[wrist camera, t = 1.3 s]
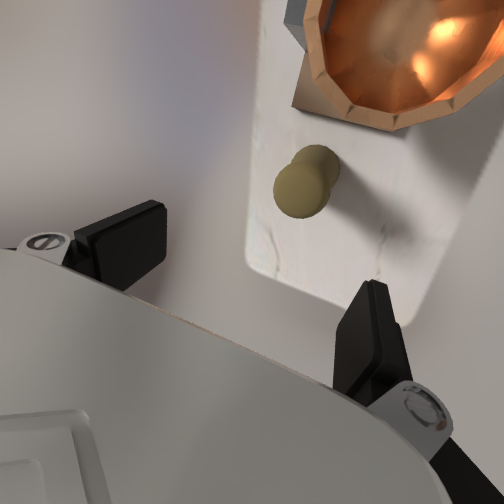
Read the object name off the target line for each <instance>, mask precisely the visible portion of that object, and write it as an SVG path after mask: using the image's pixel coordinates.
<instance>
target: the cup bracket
mask: <svg viewBox="0 0 504 504" xmlns="http://www.w3.org/2000/svg"><path fill="white" fill-rule="evenodd" d="M284 25H285V26H286V27H287V28H288V30H289V31H290V32H291V34H292V35H293V36H294V38H295V39H296V40H297V41H298V43H299V44H300V45H301V47H302V48H303V49H304V50H305V55H304V59H303V63H302V67H301V71H300V74H299V78H298V82H297V86H296V90H295V94H294V98H293V102H292V106H291V107H294V108H298V109H302V110H306V111H310V112H314V113H318V114H322V115H325V116H329V117H333V118H337V119H341V120H345V121H349V122H353V123H357V124H361V125H365V126H369V127H373V128H377V129H381V130H385V131H389V132H393V133H394V132H395V130H396V129H400V128H403V127H407V126H411V125H414V124H418V123H421V122H425V121H428V120H432V119H436V118H439V117H443V116H446V115H450V114H453V113H455V112H457V111H458V110H459V109H461V108H462V107H463V106H464V105H466V104H467V103H468V102H470V101H471V100H472V99H473V98H475V97H476V96H477V95H479V94H480V93H481V92H482V91H484V90H485V89H486V88H488V87H489V86H490V85H492V84H493V83H494V82H495V81H497V80H498V79H499V78H501V77H502V76H503V75H504V0H288V3H287V8H286V13H285V18H284Z"/></svg>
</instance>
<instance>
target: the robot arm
mask: <svg viewBox="0 0 504 504" xmlns="http://www.w3.org/2000/svg"><path fill="white" fill-rule="evenodd" d="M74 235H75V239H74V240H72V241H71V239H70V237H69V236H68V235H66V234H64V233H59V232H43V233H38V234H35V235H32V236H29V237H27V238H25V239H24V240H23V241H22V242H21V244H20V245H19V247H18V248H8V249H0V504H504V496H503V495H502V494H501V493H500V492H499V491H498V490H497V488H496V487H495V486H494V485H493V484H492V483H491V482H490V481H489V479H488V478H487V477H486V476H485V475H484V474H483V473H482V472H481V471H480V469H479V468H478V467H477V466H476V465H475V464H474V463H473V462H472V461H471V459H469V457H468V456H467V455H466V454H465V453H464V452H463V451H462V449H461V448H459V446H458V445H457V444H456V443H455V442H454V441H453V440H452V438H451V437H450V436H451V434H452V431H453V421H452V418H451V416H450V413H449V412H448V410H447V408H446V407H445V405H444V404H443V403H442V402H441V400H440V399H439V398H438V397H437V396H436V395H435V394H434V393H432V392H431V391H430V390H429V389H428V388H426V387H424V386H423V385H420V384H418V383H416V382H413V378H412V374H411V370H410V366H409V361H408V358H407V353H406V349H405V345H404V341H403V337H402V332H401V328H400V326H399V324H398V323H397V322H395V317H394V313H393V308H392V304H391V300H390V295H389V291H388V286H387V284H384V283H382V282H379V281H376V280H373V279H371V280H370V281H364V282H363V284H362V286H361V287H360V289H359V291H358V292H357V294H356V296H355V297H354V299H353V301H352V302H351V304H350V306H349V307H348V309H347V311H346V313H345V314H344V316H343V318H342V319H341V321H340V323H339V324H338V327H337V330H336V343H335V359H334V375H333V389H332V388H330V387H328V386H326V385H324V384H322V383H320V382H318V381H316V380H314V379H312V378H310V377H308V376H306V375H304V374H301V373H299V372H297V371H295V370H293V369H291V368H289V367H287V366H285V365H283V364H280V363H278V362H276V361H274V360H272V359H270V358H267V357H265V356H263V355H261V354H259V353H257V352H254V351H252V350H250V349H248V348H246V347H243V346H241V345H239V344H237V343H235V342H233V341H230V340H228V339H226V338H224V337H222V336H219V335H217V334H215V333H213V332H211V331H209V330H206V329H204V328H202V327H200V326H197V325H195V324H193V323H191V322H189V321H186V320H184V319H182V318H180V317H178V316H175V315H173V314H171V313H169V312H167V311H164V310H162V309H160V308H157V307H155V306H153V305H151V304H149V303H146V302H144V301H142V300H140V299H138V298H135V297H133V296H131V295H129V294H126V293H124V292H123V291H125V290H126V289H127V288H129V287H130V286H131V285H133V284H134V283H135V282H136V281H138V280H139V279H140V278H141V277H143V276H144V275H145V274H147V273H148V272H149V271H151V270H152V269H153V268H155V267H156V266H157V265H158V264H160V263H161V262H162V261H163V260H164V259H165V257H166V247H167V209H166V208H165V206H164V204H163V203H160V202H157V201H155V200H149V201H146V202H144V203H141V204H139V205H136V206H134V207H132V208H129V209H127V210H124V211H122V212H120V213H117V214H115V215H112V216H110V217H107V218H105V219H103V220H100V221H98V222H95V223H93V224H91V225H88V226H86V227H83V228H81V229H79V230H76V231H74Z"/></svg>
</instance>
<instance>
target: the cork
mask: <svg viewBox="0 0 504 504" xmlns="http://www.w3.org/2000/svg"><path fill="white" fill-rule="evenodd" d="M339 169H340V165H339V161H338V158H337V156H336V155H335V153H334V152H333V151H332V150H330V149H329V148H328V147H326V146H322V145H309V146H307V147H305V148H302V149H301V150H300V151H299V152H298V153H297V154H296V155H295V157H294V158H293V160H292V162H291V164H289V165H287V166H286V167H285V168H284V169H283V170H281V171H280V173H279V174H278V176H277V177H276V179H275V183H274V187H273V193H274V199H275V202H276V205H277V206H278V207H279V209H280V210H281V211H282V212H283V213H285V214H286V215H288V216H290V217H293V218H300V219H304V218H308V217H312V216H314V215H315V214H317V213H318V212H320V211H321V210H322V209H323V208H324V206H325V205H326V204H327V201H328V199H329V196H330V189H331V187H332V186H333V185H334V184H335V182H336V181H337V178H338V176H339Z"/></svg>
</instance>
